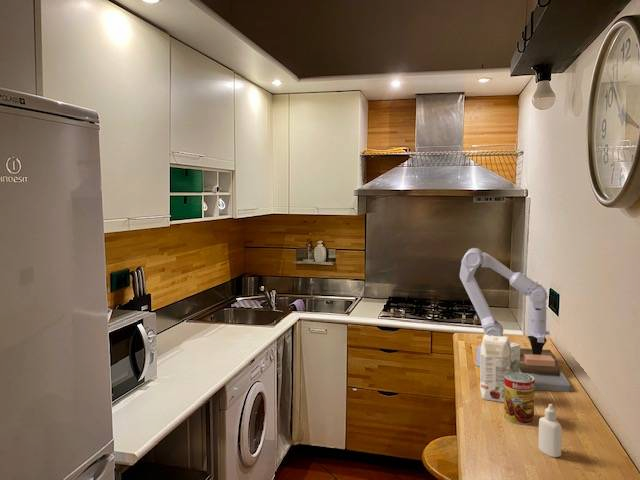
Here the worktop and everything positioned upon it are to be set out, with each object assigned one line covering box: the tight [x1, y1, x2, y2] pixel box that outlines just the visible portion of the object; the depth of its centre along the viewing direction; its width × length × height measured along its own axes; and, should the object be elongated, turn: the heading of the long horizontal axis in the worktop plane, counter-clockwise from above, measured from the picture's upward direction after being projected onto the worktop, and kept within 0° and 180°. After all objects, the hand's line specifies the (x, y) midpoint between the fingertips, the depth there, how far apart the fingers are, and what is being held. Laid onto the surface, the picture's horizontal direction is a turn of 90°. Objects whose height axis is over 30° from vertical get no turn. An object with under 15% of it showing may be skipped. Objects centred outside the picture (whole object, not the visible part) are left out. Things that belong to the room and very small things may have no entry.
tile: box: [524, 354, 555, 367], centre depth 174 cm, size 6×9×2 cm, turn 77°
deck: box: [519, 347, 562, 375], centre depth 182 cm, size 18×14×4 cm
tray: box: [519, 368, 572, 393], centre depth 167 cm, size 14×14×2 cm
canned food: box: [503, 372, 535, 426], centre depth 140 cm, size 8×8×12 cm
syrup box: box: [510, 341, 521, 372], centre depth 163 cm, size 6×6×14 cm
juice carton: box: [479, 334, 511, 403], centre depth 154 cm, size 8×9×19 cm
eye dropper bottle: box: [537, 403, 563, 458], centre depth 121 cm, size 4×6×12 cm
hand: (536, 356), depth 178 cm, fingers closed
